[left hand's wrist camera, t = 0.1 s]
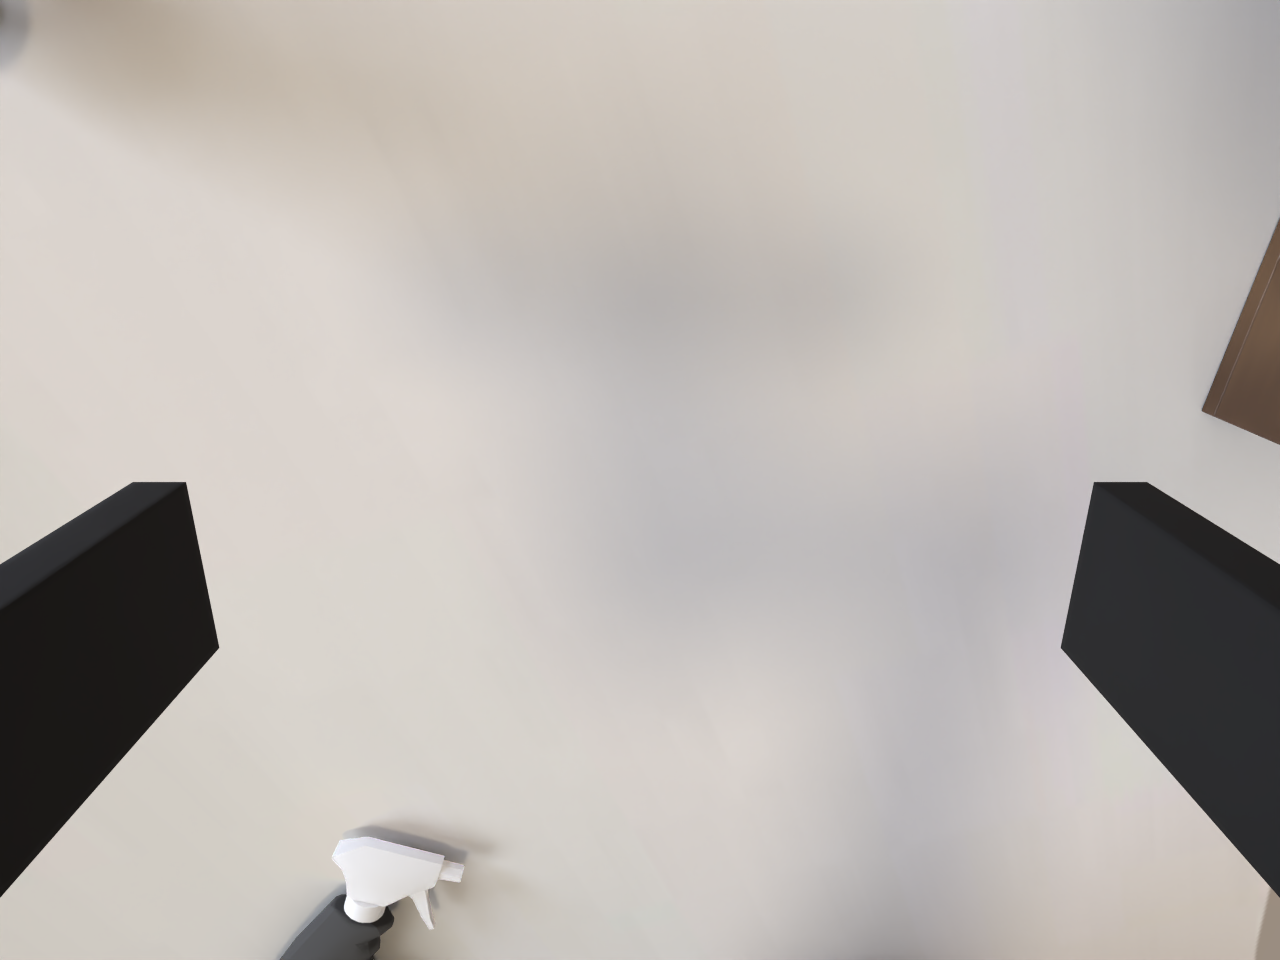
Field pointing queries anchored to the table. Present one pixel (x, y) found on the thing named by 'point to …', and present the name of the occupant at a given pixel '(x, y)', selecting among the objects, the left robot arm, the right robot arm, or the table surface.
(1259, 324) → the brown rectangular box
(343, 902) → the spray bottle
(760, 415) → the table surface
